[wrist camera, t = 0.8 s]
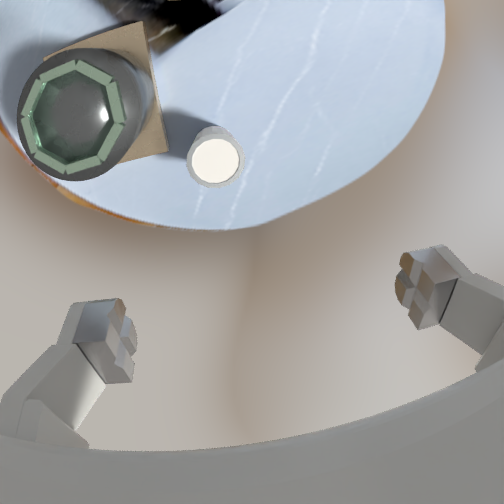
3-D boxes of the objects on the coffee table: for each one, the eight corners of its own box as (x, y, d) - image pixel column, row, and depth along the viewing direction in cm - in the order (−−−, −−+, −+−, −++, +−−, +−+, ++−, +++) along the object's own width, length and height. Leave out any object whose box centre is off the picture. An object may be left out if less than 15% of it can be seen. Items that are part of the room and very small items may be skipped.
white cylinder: (192, 171, 42) (190, 192, 37) (185, 125, 38) (181, 138, 33) (241, 165, 43) (247, 184, 37) (237, 118, 39) (243, 129, 33)
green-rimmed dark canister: (49, 57, 28) (-4, 65, 18) (145, 22, 29) (119, 8, 19) (79, 171, 39) (42, 214, 29) (169, 147, 40) (156, 184, 29)
